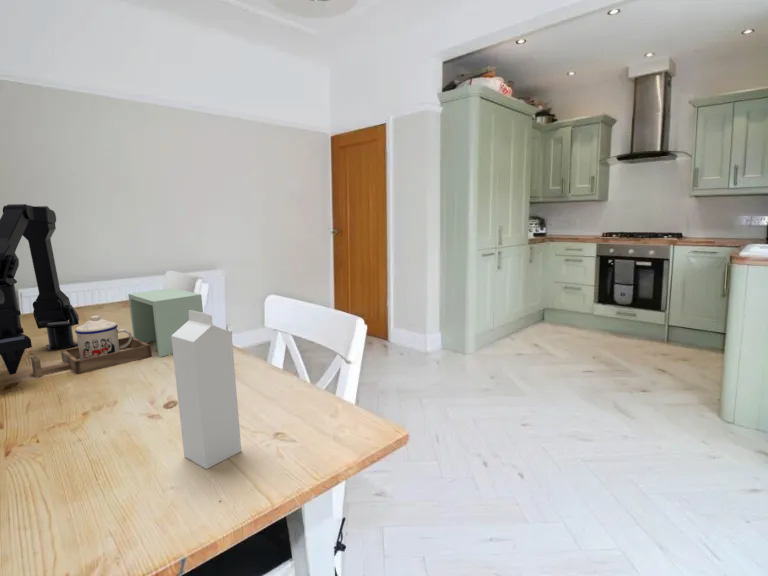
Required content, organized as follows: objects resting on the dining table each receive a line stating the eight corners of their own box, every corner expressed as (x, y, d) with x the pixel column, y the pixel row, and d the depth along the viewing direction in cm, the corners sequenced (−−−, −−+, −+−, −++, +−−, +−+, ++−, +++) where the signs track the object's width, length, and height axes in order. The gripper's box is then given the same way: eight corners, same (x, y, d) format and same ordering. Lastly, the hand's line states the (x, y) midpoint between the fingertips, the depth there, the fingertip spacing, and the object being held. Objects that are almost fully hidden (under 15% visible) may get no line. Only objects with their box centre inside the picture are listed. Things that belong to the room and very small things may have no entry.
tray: (29, 368, 107) (26, 353, 106) (133, 346, 124) (131, 332, 123) (41, 382, 97) (38, 365, 97) (151, 356, 114) (150, 341, 114)
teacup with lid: (79, 368, 106) (72, 322, 104) (80, 359, 114) (74, 315, 112) (135, 359, 112) (130, 315, 111) (132, 350, 120) (127, 309, 118)
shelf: (134, 344, 126) (128, 293, 124) (177, 334, 135) (172, 288, 133) (159, 357, 113) (153, 301, 111) (206, 346, 122) (201, 294, 120)
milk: (219, 440, 70) (207, 306, 67) (242, 451, 66) (231, 310, 63) (183, 457, 65) (168, 313, 62) (205, 470, 62) (191, 318, 58)
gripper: (-53, 307, 97) (-40, 374, 100) (-47, 320, 84) (-32, 396, 87) (12, 300, 105) (22, 361, 108) (26, 310, 92) (37, 379, 95)
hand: (12, 374), depth 99 cm, fingers closed
